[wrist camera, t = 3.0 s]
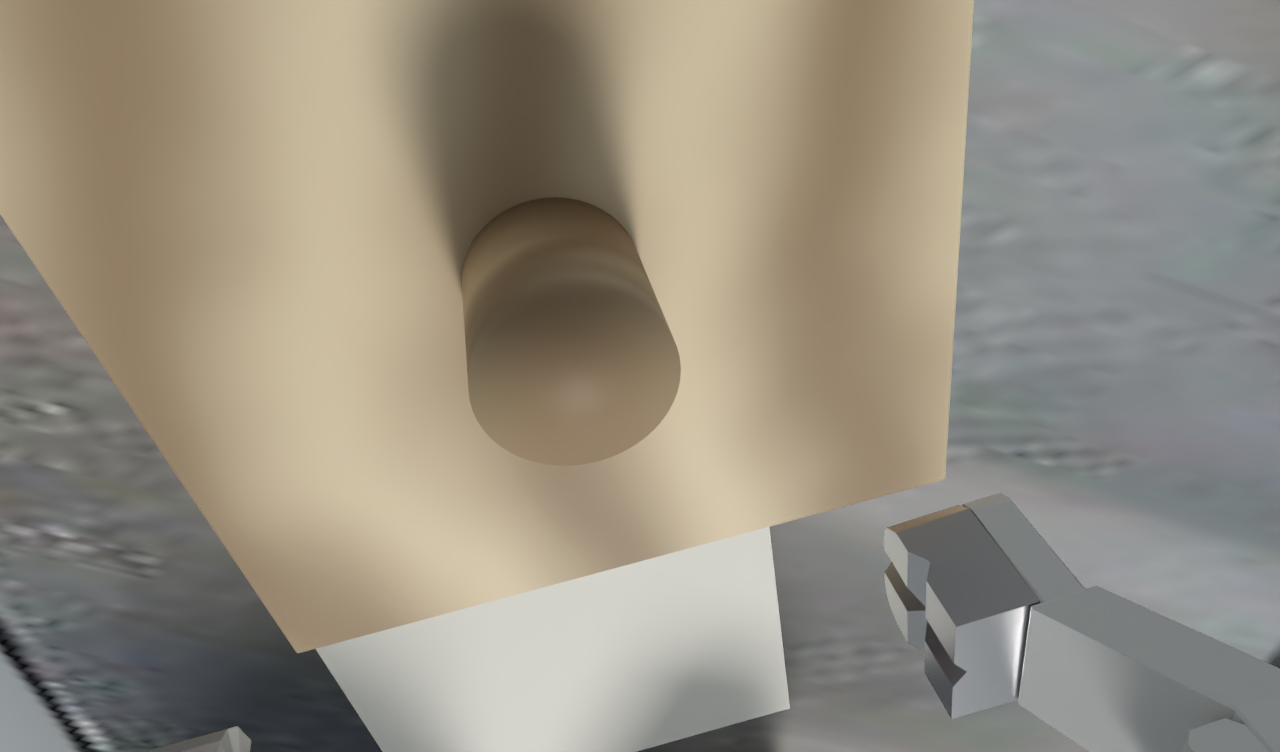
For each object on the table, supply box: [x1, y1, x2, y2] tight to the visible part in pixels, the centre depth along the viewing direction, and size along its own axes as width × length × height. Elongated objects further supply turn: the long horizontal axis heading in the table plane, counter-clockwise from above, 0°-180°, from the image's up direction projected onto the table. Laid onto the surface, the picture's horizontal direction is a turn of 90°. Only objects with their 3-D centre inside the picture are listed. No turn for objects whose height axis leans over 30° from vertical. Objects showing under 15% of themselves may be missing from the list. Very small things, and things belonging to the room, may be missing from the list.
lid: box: [0, 0, 974, 654], centre depth 16 cm, size 17×17×5 cm
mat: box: [316, 527, 790, 752], centre depth 32 cm, size 16×16×1 cm
